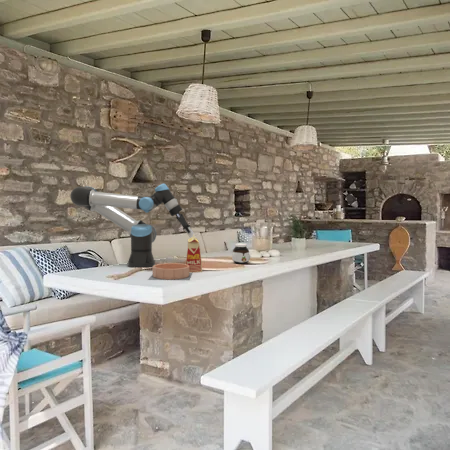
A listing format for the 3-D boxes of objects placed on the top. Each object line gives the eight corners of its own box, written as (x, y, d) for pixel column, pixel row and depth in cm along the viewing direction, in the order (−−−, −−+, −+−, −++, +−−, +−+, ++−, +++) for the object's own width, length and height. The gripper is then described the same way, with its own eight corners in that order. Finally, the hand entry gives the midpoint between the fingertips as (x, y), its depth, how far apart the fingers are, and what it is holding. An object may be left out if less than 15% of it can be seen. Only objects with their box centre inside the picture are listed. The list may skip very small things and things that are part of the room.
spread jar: (233, 264, 262) (233, 244, 261) (230, 261, 273) (230, 242, 272) (253, 264, 263) (253, 244, 263) (249, 261, 275) (249, 242, 274)
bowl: (150, 279, 211) (150, 269, 211) (156, 272, 229) (156, 263, 229) (187, 279, 211) (187, 269, 211) (190, 273, 229) (190, 263, 229)
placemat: (147, 280, 210) (147, 279, 210) (154, 272, 230) (154, 272, 230) (189, 281, 210) (189, 280, 210) (192, 273, 230) (192, 272, 230)
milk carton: (184, 270, 239) (184, 233, 238) (201, 270, 240) (202, 233, 239) (184, 273, 230) (184, 235, 229) (202, 273, 231) (202, 235, 230)
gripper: (177, 203, 250) (197, 234, 251) (180, 204, 275) (199, 233, 276) (166, 210, 250) (186, 241, 251) (170, 211, 275) (189, 239, 276)
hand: (193, 237), depth 263 cm, fingers open, 13 cm apart
